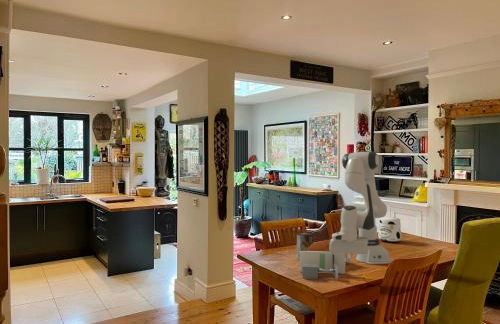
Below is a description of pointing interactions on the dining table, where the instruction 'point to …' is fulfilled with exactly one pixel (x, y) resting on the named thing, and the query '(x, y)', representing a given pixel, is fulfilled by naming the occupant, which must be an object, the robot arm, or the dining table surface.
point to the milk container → (390, 229)
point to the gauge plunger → (334, 270)
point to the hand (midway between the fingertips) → (348, 261)
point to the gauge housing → (319, 263)
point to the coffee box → (303, 242)
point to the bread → (321, 246)
